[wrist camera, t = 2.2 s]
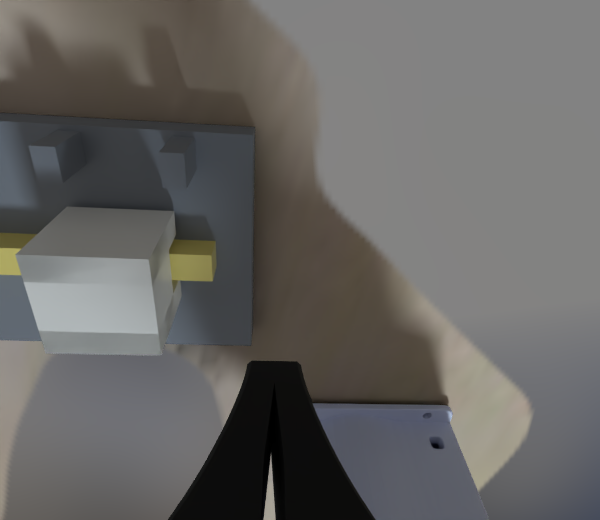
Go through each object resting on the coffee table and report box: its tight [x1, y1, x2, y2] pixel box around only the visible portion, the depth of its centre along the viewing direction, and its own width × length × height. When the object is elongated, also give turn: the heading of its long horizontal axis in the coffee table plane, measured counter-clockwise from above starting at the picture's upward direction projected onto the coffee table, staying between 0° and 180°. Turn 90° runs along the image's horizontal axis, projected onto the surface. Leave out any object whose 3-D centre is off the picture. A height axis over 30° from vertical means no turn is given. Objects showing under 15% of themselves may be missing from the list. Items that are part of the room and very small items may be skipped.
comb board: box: [0, 113, 255, 346], centre depth 17 cm, size 17×10×3 cm, turn 86°
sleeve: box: [15, 207, 182, 356], centre depth 16 cm, size 4×4×4 cm
